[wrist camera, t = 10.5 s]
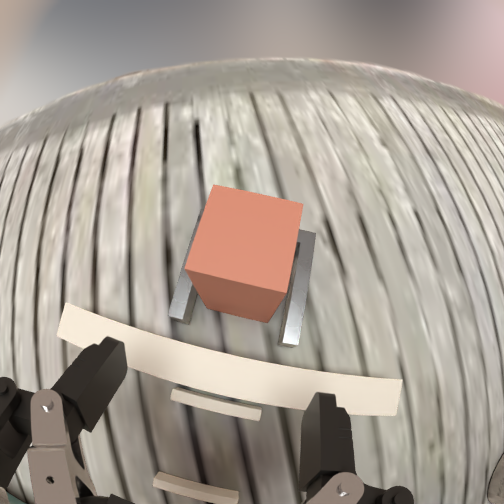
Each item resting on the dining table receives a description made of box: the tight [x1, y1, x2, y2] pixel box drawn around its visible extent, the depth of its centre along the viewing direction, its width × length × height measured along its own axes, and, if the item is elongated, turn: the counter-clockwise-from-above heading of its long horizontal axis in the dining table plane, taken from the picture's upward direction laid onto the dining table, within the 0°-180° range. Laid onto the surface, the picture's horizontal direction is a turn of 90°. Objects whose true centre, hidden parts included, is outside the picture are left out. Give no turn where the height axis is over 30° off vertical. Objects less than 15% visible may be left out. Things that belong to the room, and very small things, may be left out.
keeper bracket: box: [168, 209, 316, 347], centre depth 20 cm, size 8×8×2 cm
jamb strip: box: [57, 302, 402, 504], centre depth 16 cm, size 24×11×3 cm, turn 78°
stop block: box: [184, 185, 303, 323], centre depth 17 cm, size 4×4×9 cm
